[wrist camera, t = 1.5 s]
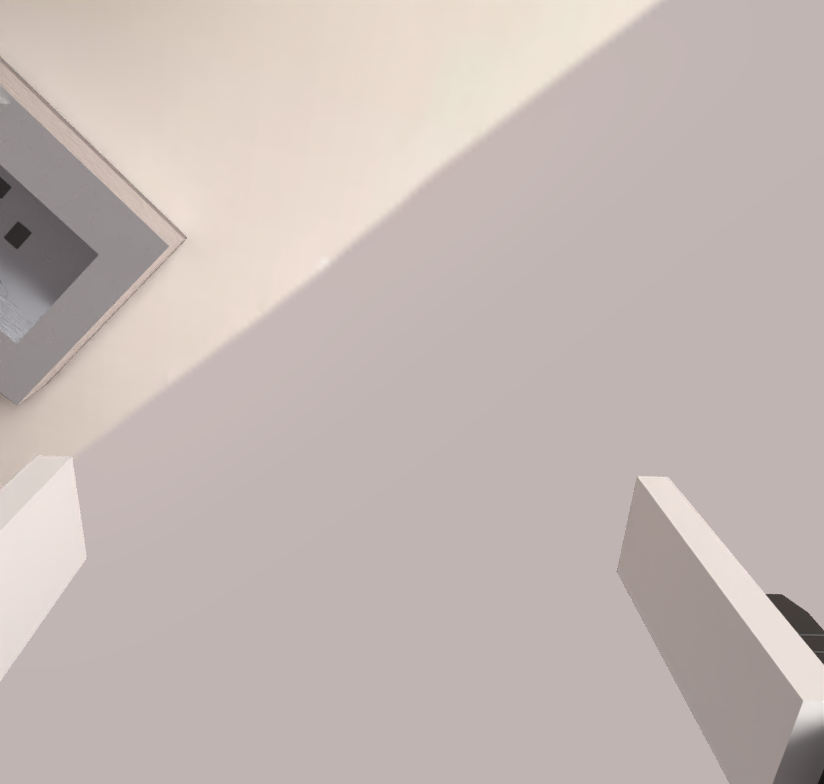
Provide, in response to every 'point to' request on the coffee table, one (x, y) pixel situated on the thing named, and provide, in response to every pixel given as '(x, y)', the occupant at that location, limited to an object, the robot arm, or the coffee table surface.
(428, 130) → the coffee table surface
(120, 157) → the coffee table surface
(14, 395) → the socket plate
